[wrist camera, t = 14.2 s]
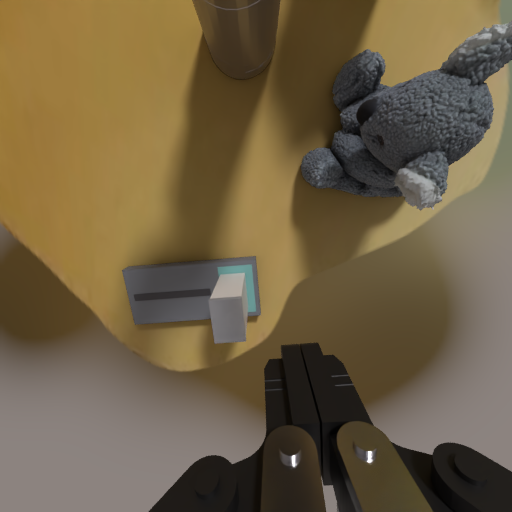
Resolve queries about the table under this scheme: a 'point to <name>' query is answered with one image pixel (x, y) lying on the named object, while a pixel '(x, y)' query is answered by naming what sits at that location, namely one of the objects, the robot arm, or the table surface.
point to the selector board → (184, 288)
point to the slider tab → (229, 308)
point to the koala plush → (409, 122)
